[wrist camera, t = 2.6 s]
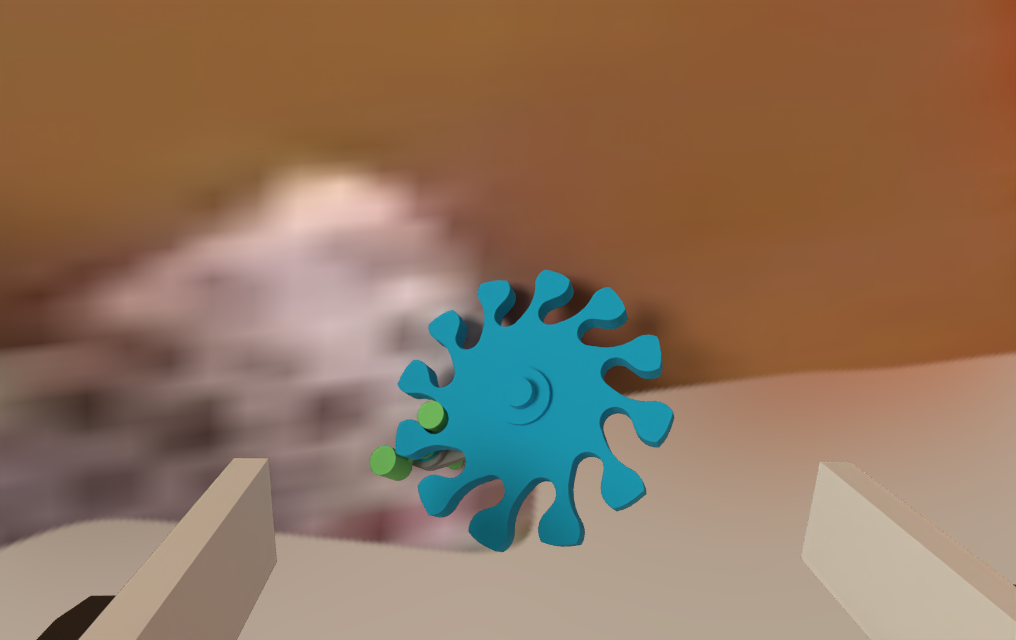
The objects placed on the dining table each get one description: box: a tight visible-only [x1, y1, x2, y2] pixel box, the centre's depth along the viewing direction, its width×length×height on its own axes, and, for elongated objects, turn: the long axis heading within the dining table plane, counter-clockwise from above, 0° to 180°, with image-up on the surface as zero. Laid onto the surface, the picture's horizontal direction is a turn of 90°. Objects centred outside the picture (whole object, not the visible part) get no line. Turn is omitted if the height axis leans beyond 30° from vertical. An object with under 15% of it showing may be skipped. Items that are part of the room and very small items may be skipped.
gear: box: [370, 270, 674, 552], centre depth 21 cm, size 11×6×10 cm
